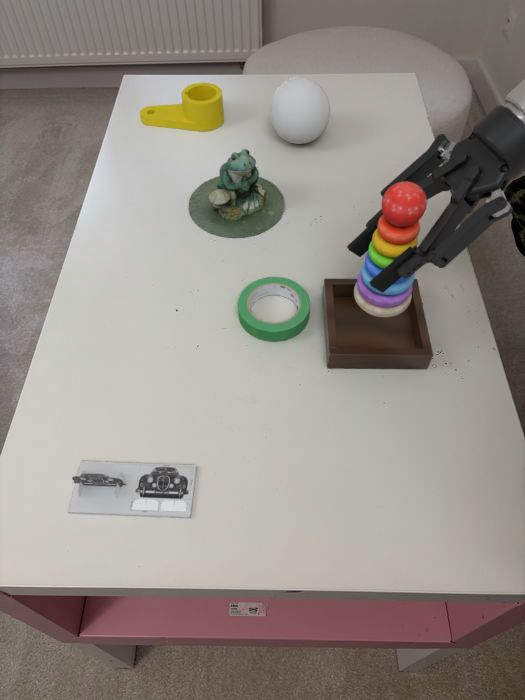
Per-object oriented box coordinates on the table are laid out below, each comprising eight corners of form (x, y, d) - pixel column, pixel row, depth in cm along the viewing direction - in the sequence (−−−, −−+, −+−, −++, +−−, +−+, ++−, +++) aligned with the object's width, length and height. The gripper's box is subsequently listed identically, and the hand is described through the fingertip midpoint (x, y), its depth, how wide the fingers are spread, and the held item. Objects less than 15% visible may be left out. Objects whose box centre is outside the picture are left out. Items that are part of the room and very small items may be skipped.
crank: (225, 109, 115) (223, 83, 110) (222, 131, 110) (220, 104, 105) (145, 108, 115) (139, 81, 110) (138, 130, 111) (132, 102, 106)
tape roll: (229, 298, 83) (227, 287, 81) (292, 279, 85) (293, 268, 83) (253, 351, 77) (252, 340, 75) (320, 329, 79) (322, 318, 77)
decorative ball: (303, 116, 113) (306, 59, 103) (339, 142, 107) (346, 85, 98) (258, 135, 109) (257, 78, 99) (293, 163, 103) (295, 105, 94)
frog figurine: (214, 250, 89) (207, 195, 80) (173, 192, 99) (163, 136, 89) (302, 217, 94) (306, 161, 85) (256, 164, 103) (254, 108, 94)
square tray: (426, 369, 75) (433, 355, 72) (327, 368, 75) (329, 354, 72) (412, 294, 83) (417, 278, 80) (322, 293, 84) (324, 278, 81)
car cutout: (68, 513, 63) (56, 501, 60) (81, 462, 67) (71, 447, 64) (190, 518, 63) (185, 506, 59) (196, 466, 67) (192, 452, 63)
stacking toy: (419, 291, 74) (458, 182, 58) (394, 329, 70) (429, 223, 54) (369, 269, 76) (394, 158, 61) (342, 304, 72) (362, 195, 57)
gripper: (590, 194, 54) (413, 331, 64) (487, 101, 64) (349, 232, 75) (571, 160, 49) (382, 315, 59) (463, 65, 59) (318, 211, 69)
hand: (364, 269), depth 67 cm, fingers closed on stacking toy, 6 cm apart
